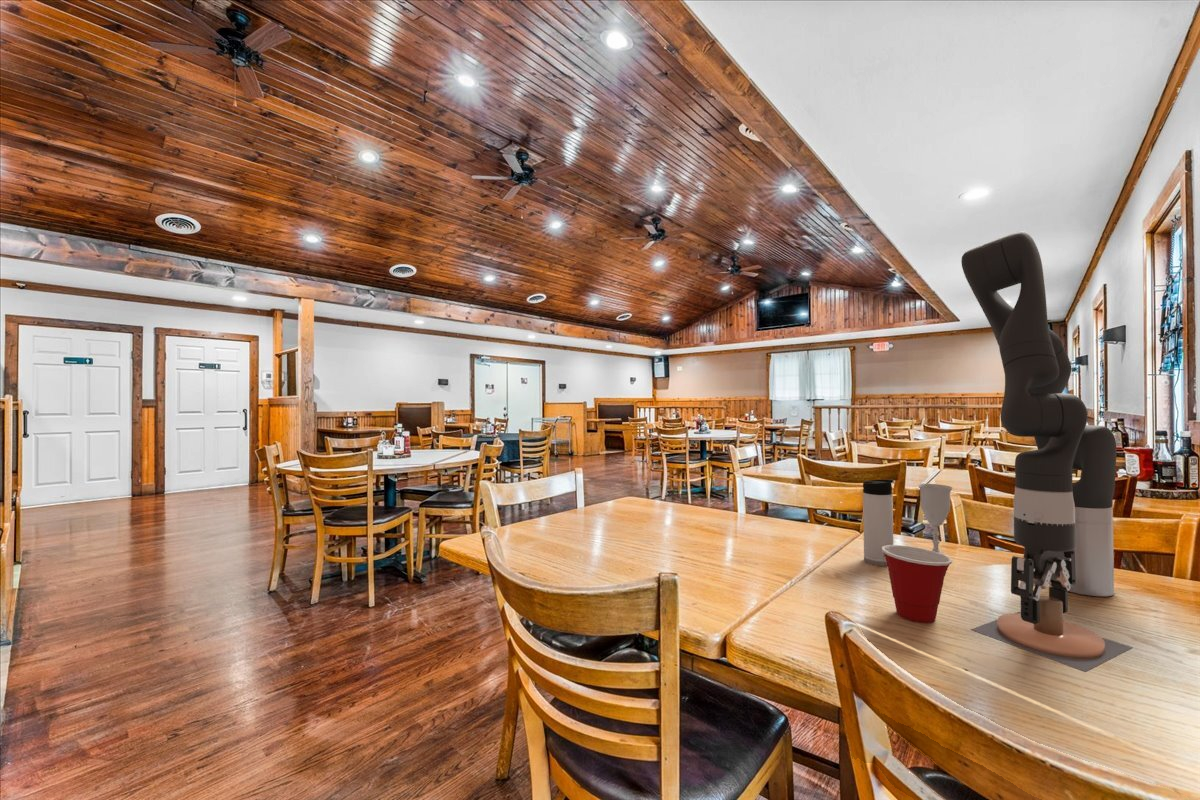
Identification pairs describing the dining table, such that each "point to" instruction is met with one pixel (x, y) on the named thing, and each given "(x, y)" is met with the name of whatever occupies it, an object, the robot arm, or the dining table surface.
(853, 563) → the dining table surface
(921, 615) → the plastic cup
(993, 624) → the mat
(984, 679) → the dining table surface
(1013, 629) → the lid
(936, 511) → the chalice
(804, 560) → the dining table surface
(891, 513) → the travel mug
